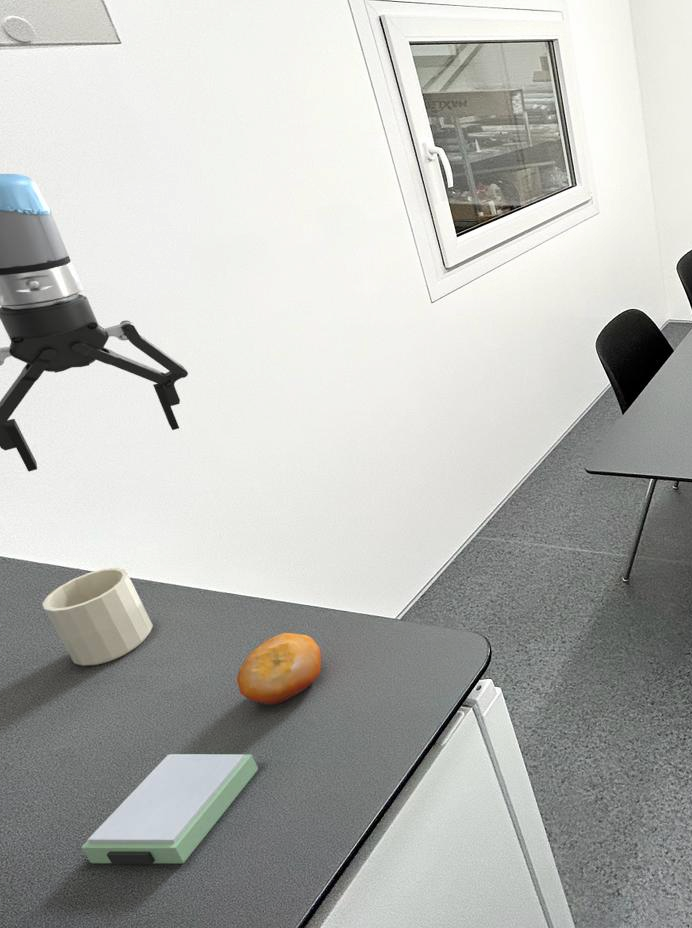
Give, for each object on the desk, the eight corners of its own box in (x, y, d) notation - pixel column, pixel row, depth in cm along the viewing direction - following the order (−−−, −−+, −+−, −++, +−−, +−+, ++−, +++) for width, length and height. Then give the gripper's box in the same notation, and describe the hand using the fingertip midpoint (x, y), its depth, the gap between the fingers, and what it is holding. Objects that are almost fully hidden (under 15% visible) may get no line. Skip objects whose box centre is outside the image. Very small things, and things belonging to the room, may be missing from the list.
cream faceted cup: (65, 678, 81) (31, 619, 77) (86, 637, 87) (56, 581, 83) (145, 652, 85) (116, 595, 81) (160, 614, 91) (134, 560, 87)
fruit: (309, 635, 86) (304, 612, 81) (333, 685, 83) (329, 664, 78) (233, 675, 80) (223, 653, 75) (256, 730, 77) (247, 710, 72)
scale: (87, 867, 61) (74, 847, 60) (177, 769, 70) (167, 750, 69) (180, 867, 61) (169, 848, 60) (258, 769, 70) (250, 751, 69)
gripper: (-132, 334, 67) (-38, 498, 75) (180, 283, 85) (230, 419, 93) (-125, 319, 71) (-37, 475, 79) (170, 274, 90) (219, 404, 97)
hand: (107, 445), depth 86 cm, fingers open, 13 cm apart
